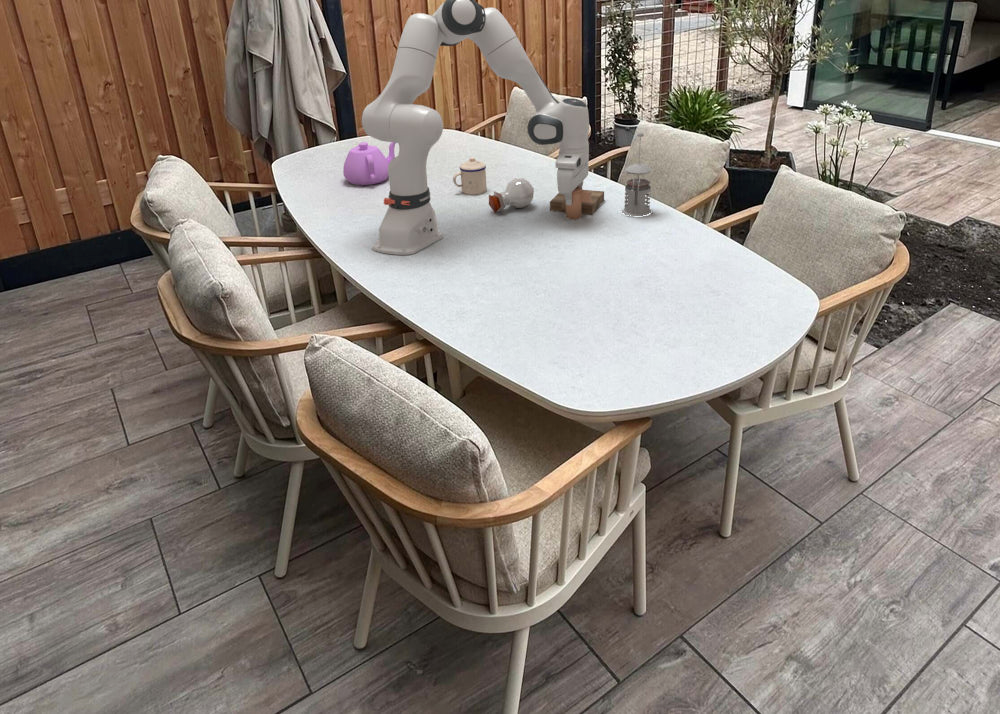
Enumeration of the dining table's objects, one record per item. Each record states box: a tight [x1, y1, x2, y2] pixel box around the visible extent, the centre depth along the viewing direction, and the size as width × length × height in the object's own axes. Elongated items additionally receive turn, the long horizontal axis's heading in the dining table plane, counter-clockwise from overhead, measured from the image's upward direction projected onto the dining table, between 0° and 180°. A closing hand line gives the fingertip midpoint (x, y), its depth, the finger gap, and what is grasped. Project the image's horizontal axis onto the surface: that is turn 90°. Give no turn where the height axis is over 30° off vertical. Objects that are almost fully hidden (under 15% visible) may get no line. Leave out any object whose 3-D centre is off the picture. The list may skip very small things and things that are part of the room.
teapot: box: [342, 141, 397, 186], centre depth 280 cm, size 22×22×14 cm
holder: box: [549, 189, 605, 216], centre depth 248 cm, size 14×14×3 cm
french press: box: [621, 131, 653, 216], centre depth 234 cm, size 10×12×25 cm
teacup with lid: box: [452, 156, 487, 196], centre depth 263 cm, size 12×9×12 cm
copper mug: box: [565, 186, 593, 220], centre depth 237 cm, size 8×5×9 cm, turn 68°
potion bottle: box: [488, 177, 535, 214], centre depth 247 cm, size 9×10×15 cm
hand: (573, 199), depth 237 cm, fingers open, 8 cm apart
